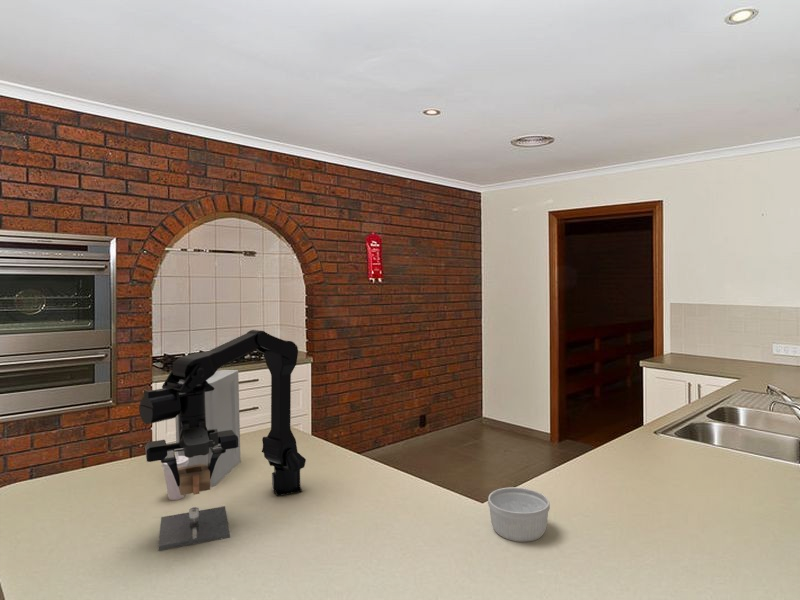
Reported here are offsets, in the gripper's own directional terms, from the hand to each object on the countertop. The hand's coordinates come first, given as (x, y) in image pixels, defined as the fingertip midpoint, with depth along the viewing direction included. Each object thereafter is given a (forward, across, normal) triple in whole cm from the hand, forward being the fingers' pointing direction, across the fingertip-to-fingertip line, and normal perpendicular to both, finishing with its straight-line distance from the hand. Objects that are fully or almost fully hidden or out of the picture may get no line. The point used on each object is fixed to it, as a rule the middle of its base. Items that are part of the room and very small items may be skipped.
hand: (193, 482), depth 116 cm
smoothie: (+11, -2, +20) cm, 23 cm away
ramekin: (+11, +62, -36) cm, 73 cm away
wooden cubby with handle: (+1, 0, 0) cm, 1 cm away
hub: (+10, 0, 0) cm, 11 cm away
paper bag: (+11, +7, +35) cm, 37 cm away
